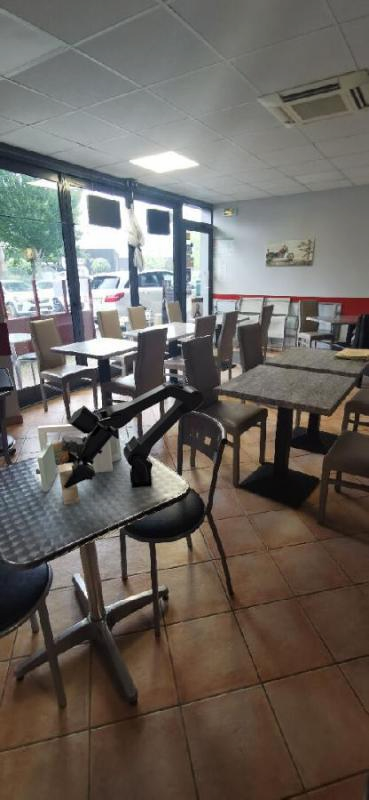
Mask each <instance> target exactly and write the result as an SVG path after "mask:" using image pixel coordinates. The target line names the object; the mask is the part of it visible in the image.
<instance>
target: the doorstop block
mask: <svg viewBox="0 0 369 800" xmlns="http://www.w3.org/2000/svg"><path fill="white" fill-rule="evenodd" d="M73 465H74V464H73V462H72V463H67V464H62V465H58V466H57V468H58V474H59V479H60V480H59V481H60V486H61V487H60V488H61V493H62V499H63V503H64V505H67V504H69V505H70V504H73V503H77V502H80V494H79V489H78V483H77V484H75V485H73V486H71V487H69V488H67V489H66V488H64V485H65V483H66V481H67V480H68V478H69V476H70V475H71V473H72V466H73Z"/></svg>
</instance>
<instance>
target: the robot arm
mask: <svg viewBox="0 0 369 800" xmlns="http://www.w3.org/2000/svg"><path fill="white" fill-rule="evenodd" d="M169 398H171V399H175V400H174V402H173V404H172V406H171V407H169V409H167V410H166V412H164V413H163V415H162V416H161V417H160V418H159V419H158V420H157V421H156V422H155V423H154V424H153V425H152V426H151V427H150V428H149V429H148V430H147V431H146V432H145V433H144V434H143V435H141V436H140V437H136V436H135V435H133V436H132V437H131V438H130V439H129V441H127V442H126V443H125V446H124V448H123V456H124V457H125V460H126V462H127V463H128V465H129V466H131V468H130V469H129V478H130V483H131V488H146V487H147V488H149V487H151V488H152V487H153V475H152V473H153V472H152V468H153V466H154V464H153V462H152V461H151V459H150V457H149V456H150V454H151V452H152V449H153V447H154V446H155V445H156V444H158V442H159V441H160V440H161V439H162V437H164V435H166V434H167V432H169V431H170V430H171V428H173V427H174V425H175V424H177V423H178V422H179V420H181V418H182V417H183V416H185V415H187V414H190V413H193V412H194V411H195V410H196V409H198V408H199V407H200V406H202V404H203V402H204V395H203V394H202V392H201V391H199V390H198V389H196V388H195V387H194V386H192V385H186V386H182V385H180V384H176V383H175V384H174V383H171V382H169V381H165V382H163V383H162V384H160V385H159V386H156V387H155V388H153V389H151V390H149V391H147V392H145V393H143V394H142V395H139V396H138V397H136V398H133V399H131V400H129V401H123V402H119V403H115V404H113V405H109V406H110V407H108V408H107V410H103V411H100V412H98V411H97V412H93V411H91V409H89V408H88V407H87V406H86V405H82V407H80V408H78V409H77V410H76V411H74V412H73V413H72V415H71V417H70V418H69V421H68V424H70V425H72V426H73V427H75V428H76V429H78V430H80V431H79V432H81V433H83V434H85V435H86V436H82V437H81V438H82V439H81V440H80V439H77V438H74V437H75V436H68V435H63V436H62V439H61V440H60V441H61V444H60V446H61V450H62V451H68V459H67V461H66V463H65V464H67V463H72V462H73V464H74V465H73V466H72V473H71V475H70V476H69V478H68V480H67V481H66V483H65V485H64V488H66V489H67V488H69V487H71V486H73V485H75V484H77V485H78V484H79V483H82V482H84V481H86V480H87V481H88V480H90V481H92V480H93V479H94V477H95V476H96V473H95V470H94V468H93V466H92V465H91V464H93V463H94V461H93V459H94V458H95V456H96V455H97V454H98V453H99V454H101V453H102V448H103V447H104V445H105V444H106V443H107V442H108V441H109V439H110V438H111V437H112V436H114V437H115V438H117V439H119V438H120V430H118V429H122V428H123V427H125V426H126V425H127V424H129V423H130V422H131V421H133V419H134V418H135V417H136V416H137V415H138V414H141V413H142V412H144V411H146V410H148V409H150V408H152V407H154V406H155V405H158V404H159V403H160V402H163V401H165V400H166V399H169ZM110 426H111V427H110ZM112 427H113V428H112ZM118 432H119V434H118ZM87 433H88V434H89V433H90V434H89V436H88V437H87Z"/></svg>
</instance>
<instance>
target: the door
mask: <svg viewBox="0 0 369 800" xmlns="http://www.w3.org/2000/svg"><path fill="white" fill-rule="evenodd" d="M53 444H54V443H53V441H48V442H47V444H46V445H45V447H44V448H43V450H42V452H41V451H40V453H39V455H38V456H37V463H38V468H37V469H35V474H36V475H40V481H41V486H42V491H43V492H49V490H50V488H51V487H52V484H53V482H54V480H55V478H56V477H57V474H58V471H57V465H56V463H55V457H54V451H53Z"/></svg>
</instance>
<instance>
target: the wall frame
mask: <svg viewBox="0 0 369 800" xmlns="http://www.w3.org/2000/svg"><path fill="white" fill-rule="evenodd" d="M63 432H66V433H67V432H81V431H80V430H78V429H76V428H75V427H73V426H72V425H70V424H69V423H67V424H54V425H53V424H52V425H51V424H50V425H39V426H38V427H37V433H38V434H37V435H38V442H39V447H40V453H41V452H42V450H43V448H44V447H45V445H46V444H47V442H49V440H48V435H47V434H49V433H51V434H52V433H63ZM89 434H90V433H89ZM89 434H88V433H86V437H88V436H89ZM93 461H94V463H93V464H90V465H92V466H93V468H94V470H95V474H98V473H103V472H104V473H105V472H113V470H114V468H113V467H114V465H113V462H112V457H111V448H110V439H109V441H108V442H107V443H106V444H105V445H104V447H103V448H102V453H101V454H99V453H98V454H97V455H96V456H95V458H94V459H93Z"/></svg>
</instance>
